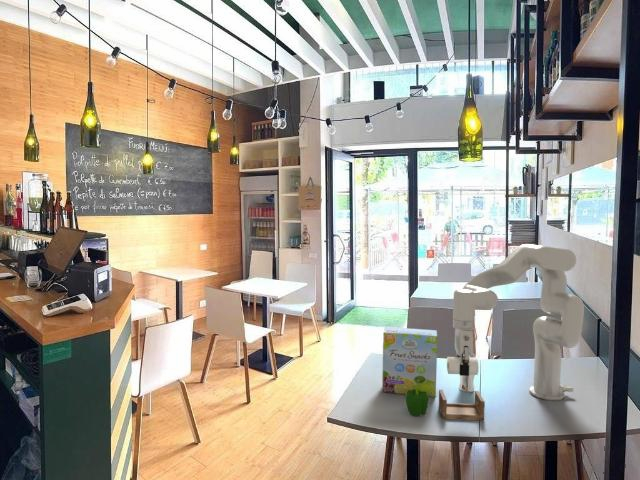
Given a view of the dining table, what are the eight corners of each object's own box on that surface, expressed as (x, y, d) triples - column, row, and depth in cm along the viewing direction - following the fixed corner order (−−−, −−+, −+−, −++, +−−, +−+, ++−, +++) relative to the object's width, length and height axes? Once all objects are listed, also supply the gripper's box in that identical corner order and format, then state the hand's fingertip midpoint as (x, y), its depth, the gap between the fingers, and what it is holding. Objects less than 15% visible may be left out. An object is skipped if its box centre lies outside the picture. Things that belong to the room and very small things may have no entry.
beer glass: (476, 393, 180) (477, 357, 179) (458, 392, 182) (459, 356, 181) (474, 386, 187) (475, 352, 186) (457, 385, 189) (457, 351, 187)
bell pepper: (429, 419, 159) (429, 392, 158) (405, 417, 161) (406, 391, 160) (427, 408, 167) (428, 383, 167) (405, 407, 169) (405, 381, 168)
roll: (474, 371, 165) (474, 355, 164) (478, 377, 159) (479, 361, 158) (446, 370, 166) (446, 354, 165) (449, 376, 160) (449, 360, 159)
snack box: (381, 393, 181) (382, 331, 179) (383, 384, 190) (383, 326, 187) (436, 398, 176) (437, 335, 174) (435, 389, 185) (436, 328, 183)
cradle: (477, 408, 167) (478, 390, 167) (484, 420, 158) (484, 401, 158) (438, 407, 169) (439, 389, 168) (442, 418, 160) (443, 399, 159)
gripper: (480, 330, 152) (478, 381, 153) (468, 317, 169) (467, 363, 170) (457, 329, 153) (456, 380, 154) (448, 317, 170) (447, 363, 171)
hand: (462, 371), depth 162 cm, fingers closed on roll, 6 cm apart
